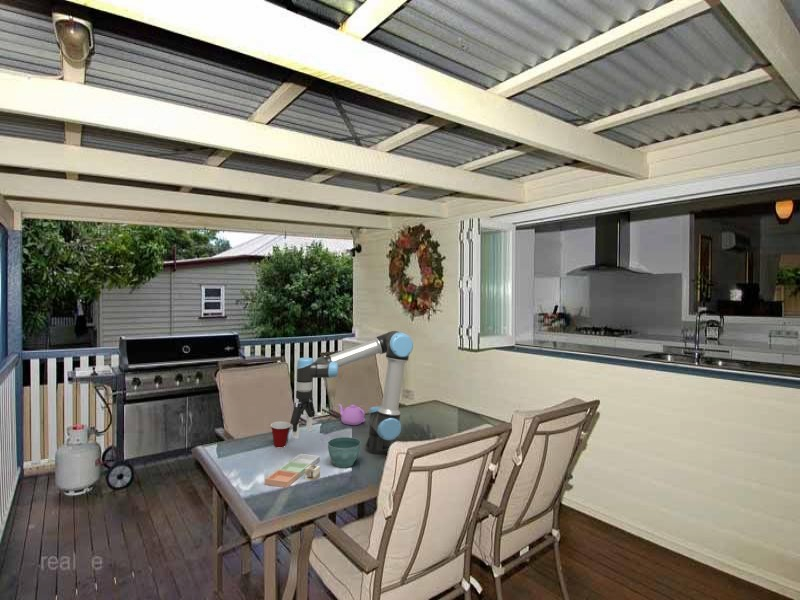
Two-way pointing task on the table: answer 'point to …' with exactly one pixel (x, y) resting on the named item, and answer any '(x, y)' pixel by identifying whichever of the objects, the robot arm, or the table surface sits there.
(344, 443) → the flower pot
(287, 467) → the box sage
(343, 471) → the table surface
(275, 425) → the plastic cup
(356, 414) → the teapot
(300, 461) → the box grey
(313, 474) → the letter cube
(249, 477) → the table surface
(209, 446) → the table surface
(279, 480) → the box terracotta
